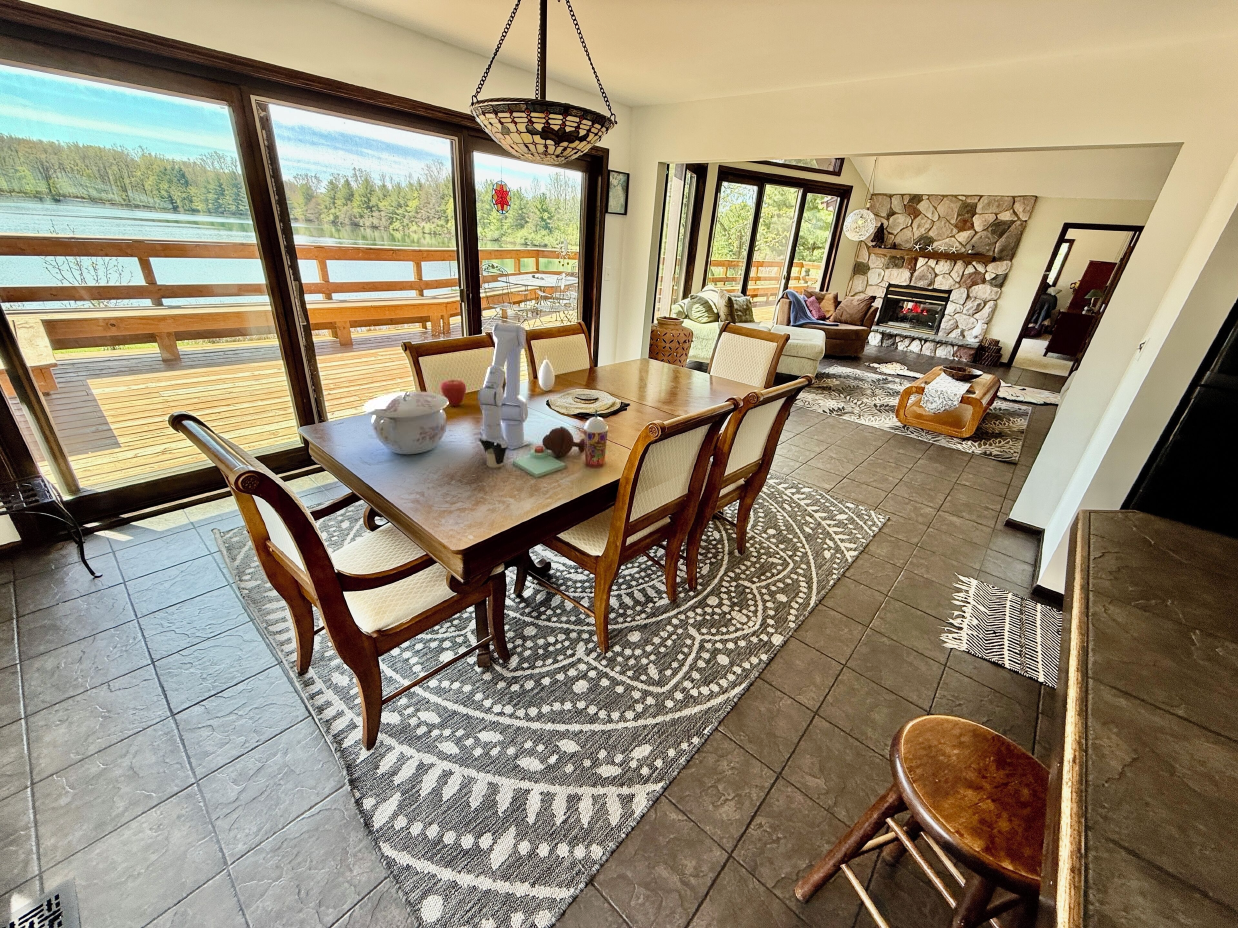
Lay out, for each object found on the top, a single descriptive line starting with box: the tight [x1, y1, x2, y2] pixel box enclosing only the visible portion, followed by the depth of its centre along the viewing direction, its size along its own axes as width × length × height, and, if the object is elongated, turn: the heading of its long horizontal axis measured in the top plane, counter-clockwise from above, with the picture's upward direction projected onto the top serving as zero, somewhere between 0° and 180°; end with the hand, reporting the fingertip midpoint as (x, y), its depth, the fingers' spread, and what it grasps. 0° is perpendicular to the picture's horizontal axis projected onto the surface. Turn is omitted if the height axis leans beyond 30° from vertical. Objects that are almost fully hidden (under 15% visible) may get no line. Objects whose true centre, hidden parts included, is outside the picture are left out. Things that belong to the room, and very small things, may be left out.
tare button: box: [534, 445, 544, 453], centre depth 169 cm, size 3×3×2 cm
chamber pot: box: [363, 390, 449, 455], centre depth 170 cm, size 28×28×21 cm
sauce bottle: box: [538, 355, 556, 392], centre depth 240 cm, size 8×8×18 cm
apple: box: [439, 379, 467, 407], centre depth 215 cm, size 11×11×12 cm
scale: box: [512, 447, 566, 479], centre depth 165 cm, size 14×12×3 cm
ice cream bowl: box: [541, 425, 585, 458], centre depth 172 cm, size 11×11×15 cm
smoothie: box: [583, 409, 609, 468], centre depth 164 cm, size 8×8×20 cm
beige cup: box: [485, 448, 505, 469], centre depth 163 cm, size 6×6×5 cm
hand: (494, 460), depth 164 cm, fingers closed on beige cup, 5 cm apart
